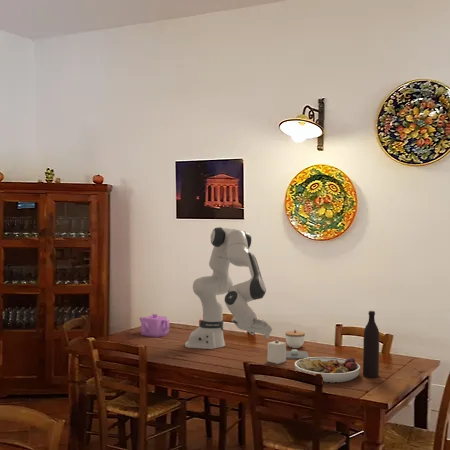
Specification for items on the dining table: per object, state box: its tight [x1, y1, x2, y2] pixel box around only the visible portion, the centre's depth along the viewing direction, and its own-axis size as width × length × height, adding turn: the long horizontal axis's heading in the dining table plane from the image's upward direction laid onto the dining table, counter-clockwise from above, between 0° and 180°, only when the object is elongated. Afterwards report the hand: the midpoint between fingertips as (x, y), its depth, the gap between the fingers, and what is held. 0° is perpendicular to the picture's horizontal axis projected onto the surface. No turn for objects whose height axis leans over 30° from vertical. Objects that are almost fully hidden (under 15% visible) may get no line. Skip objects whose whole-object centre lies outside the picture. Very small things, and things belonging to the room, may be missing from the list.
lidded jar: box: [285, 329, 306, 349], centre depth 337 cm, size 11×11×9 cm
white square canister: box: [266, 339, 287, 365], centre depth 305 cm, size 7×7×11 cm
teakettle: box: [139, 313, 170, 338], centre depth 367 cm, size 17×17×12 cm
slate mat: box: [286, 348, 310, 360], centre depth 316 cm, size 14×14×3 cm
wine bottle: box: [362, 310, 380, 379], centre depth 279 cm, size 7×7×30 cm
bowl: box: [294, 356, 361, 384], centre depth 281 cm, size 30×30×8 cm
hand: (260, 335), depth 296 cm, fingers open, 8 cm apart
